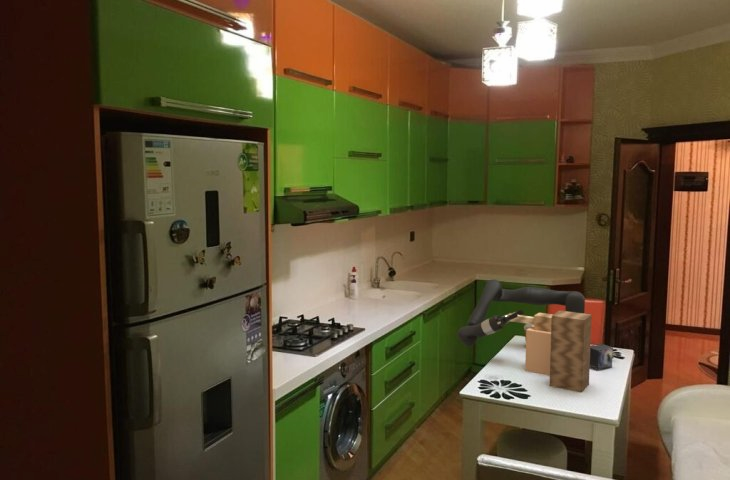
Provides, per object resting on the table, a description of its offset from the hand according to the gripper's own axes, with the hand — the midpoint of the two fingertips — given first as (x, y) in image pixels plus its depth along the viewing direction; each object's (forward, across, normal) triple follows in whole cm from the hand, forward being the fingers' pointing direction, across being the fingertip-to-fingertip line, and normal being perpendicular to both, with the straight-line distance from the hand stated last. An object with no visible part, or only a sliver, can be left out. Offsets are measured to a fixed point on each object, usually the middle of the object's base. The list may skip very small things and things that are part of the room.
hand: (520, 312), depth 282 cm
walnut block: (+11, -14, +37) cm, 41 cm away
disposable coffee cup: (-17, +33, +21) cm, 43 cm away
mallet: (+2, 0, +9) cm, 9 cm away
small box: (+16, +18, +40) cm, 47 cm away
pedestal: (-3, 0, +29) cm, 29 cm away
